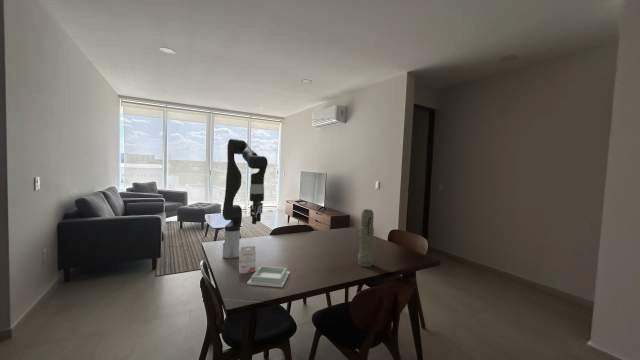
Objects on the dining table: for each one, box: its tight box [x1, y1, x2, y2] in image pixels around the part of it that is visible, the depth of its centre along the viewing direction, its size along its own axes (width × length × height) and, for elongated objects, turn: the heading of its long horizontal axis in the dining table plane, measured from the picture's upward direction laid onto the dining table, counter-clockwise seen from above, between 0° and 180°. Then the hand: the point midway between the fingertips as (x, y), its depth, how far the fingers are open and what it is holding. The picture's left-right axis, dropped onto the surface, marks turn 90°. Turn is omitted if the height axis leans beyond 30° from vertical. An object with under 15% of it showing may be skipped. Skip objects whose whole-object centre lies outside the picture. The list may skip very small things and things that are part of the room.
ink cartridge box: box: [238, 245, 257, 274], centre depth 148 cm, size 9×5×15 cm, turn 113°
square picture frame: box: [246, 265, 291, 288], centre depth 140 cm, size 18×18×4 cm
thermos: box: [357, 208, 375, 268], centre depth 167 cm, size 9×12×35 cm
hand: (256, 222), depth 144 cm, fingers open, 6 cm apart
